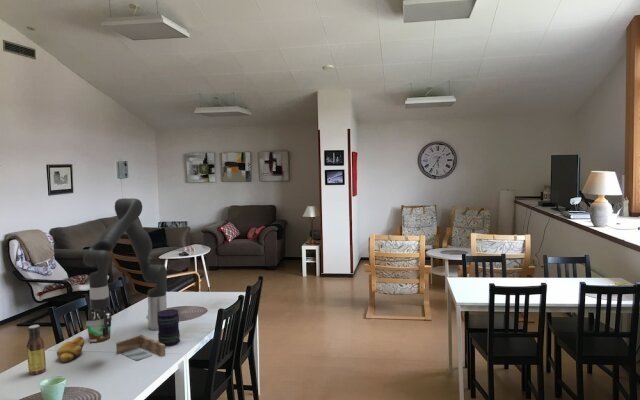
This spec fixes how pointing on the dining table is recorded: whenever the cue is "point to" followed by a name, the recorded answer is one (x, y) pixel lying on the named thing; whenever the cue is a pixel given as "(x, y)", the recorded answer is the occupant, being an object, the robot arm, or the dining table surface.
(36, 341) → the sauce bottle
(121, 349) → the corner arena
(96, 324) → the food container
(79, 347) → the bread roll
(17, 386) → the dining table surface
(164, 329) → the rusty blue oil drum
